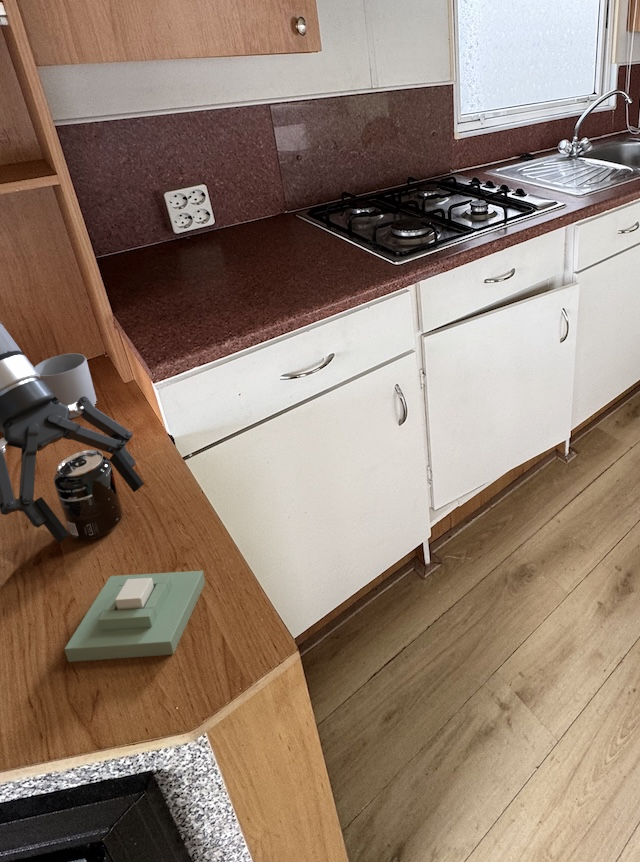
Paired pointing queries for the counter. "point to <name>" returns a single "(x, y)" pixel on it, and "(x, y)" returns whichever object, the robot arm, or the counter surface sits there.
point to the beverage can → (88, 494)
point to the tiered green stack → (137, 619)
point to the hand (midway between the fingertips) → (103, 512)
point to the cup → (68, 378)
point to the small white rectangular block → (134, 594)
